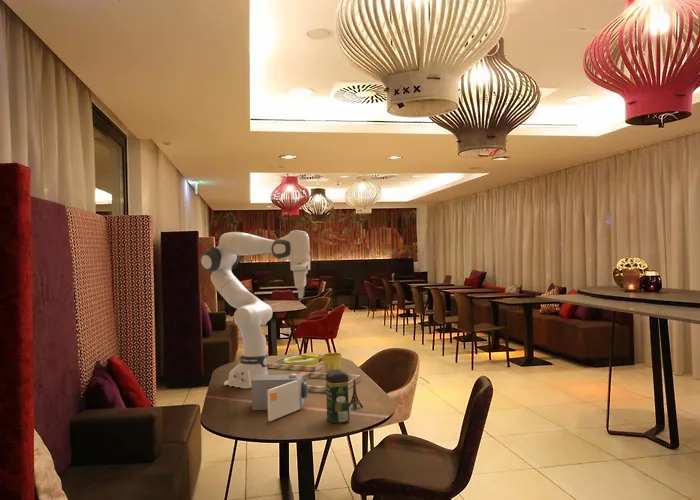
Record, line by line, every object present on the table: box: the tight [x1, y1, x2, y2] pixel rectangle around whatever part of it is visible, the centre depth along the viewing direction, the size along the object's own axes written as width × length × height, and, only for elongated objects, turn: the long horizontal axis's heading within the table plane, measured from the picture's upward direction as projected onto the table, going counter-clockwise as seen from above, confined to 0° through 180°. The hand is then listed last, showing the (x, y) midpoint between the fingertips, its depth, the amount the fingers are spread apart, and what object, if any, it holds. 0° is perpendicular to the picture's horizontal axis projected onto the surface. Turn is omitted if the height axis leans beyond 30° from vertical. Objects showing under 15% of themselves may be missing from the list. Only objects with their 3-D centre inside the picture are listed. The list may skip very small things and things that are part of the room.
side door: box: [267, 378, 302, 422], centre depth 207 cm, size 19×2×12 cm, turn 147°
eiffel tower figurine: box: [349, 378, 365, 414], centre depth 215 cm, size 15×10×13 cm
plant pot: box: [321, 352, 343, 373], centre depth 279 cm, size 10×10×10 cm
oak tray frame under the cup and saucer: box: [303, 371, 361, 394], centre depth 254 cm, size 28×26×2 cm
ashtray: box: [282, 353, 320, 366], centre depth 300 cm, size 16×21×5 cm
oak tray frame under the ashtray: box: [267, 355, 325, 372], centre depth 301 cm, size 29×24×2 cm
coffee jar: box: [325, 369, 350, 424], centre depth 200 cm, size 10×8×19 cm
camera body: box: [251, 373, 308, 411], centre depth 220 cm, size 22×9×13 cm, turn 89°
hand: (301, 297), depth 239 cm, fingers open, 8 cm apart
